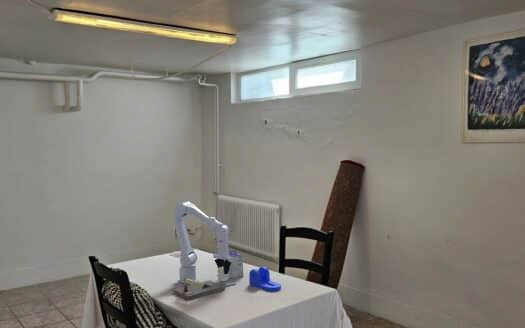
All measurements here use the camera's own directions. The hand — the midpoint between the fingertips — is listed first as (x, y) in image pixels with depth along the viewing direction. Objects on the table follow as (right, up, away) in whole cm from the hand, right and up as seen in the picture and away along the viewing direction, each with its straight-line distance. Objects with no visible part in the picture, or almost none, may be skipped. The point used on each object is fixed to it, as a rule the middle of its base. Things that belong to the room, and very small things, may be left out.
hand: (223, 273), depth 254 cm
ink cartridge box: (+5, -6, +15) cm, 17 cm away
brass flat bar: (-13, -5, -20) cm, 25 cm away
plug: (+1, -3, +1) cm, 4 cm away
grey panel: (-11, -7, -11) cm, 17 cm away
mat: (0, -6, 0) cm, 6 cm away
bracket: (+23, -6, -5) cm, 24 cm away
